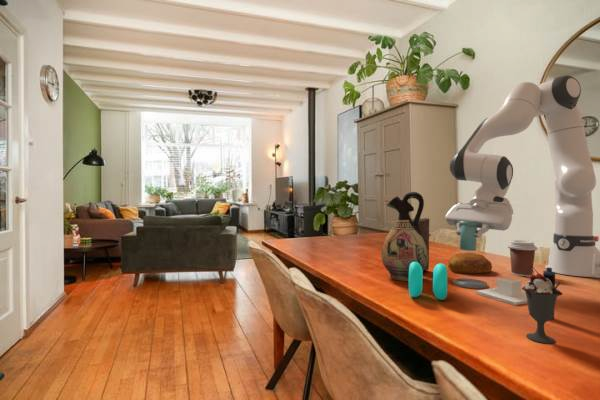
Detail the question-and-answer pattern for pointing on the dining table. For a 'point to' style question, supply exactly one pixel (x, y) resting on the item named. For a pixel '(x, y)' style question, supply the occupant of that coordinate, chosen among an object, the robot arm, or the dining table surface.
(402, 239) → the ceramic jug
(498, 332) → the dining table surface
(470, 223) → the teal domed cylinder
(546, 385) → the dining table surface
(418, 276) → the donuts
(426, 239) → the brown tall cylinder
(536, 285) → the sundae
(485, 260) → the brown oval lump
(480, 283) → the dish
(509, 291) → the white cube on base
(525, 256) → the coffee cup
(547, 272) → the vaping device
